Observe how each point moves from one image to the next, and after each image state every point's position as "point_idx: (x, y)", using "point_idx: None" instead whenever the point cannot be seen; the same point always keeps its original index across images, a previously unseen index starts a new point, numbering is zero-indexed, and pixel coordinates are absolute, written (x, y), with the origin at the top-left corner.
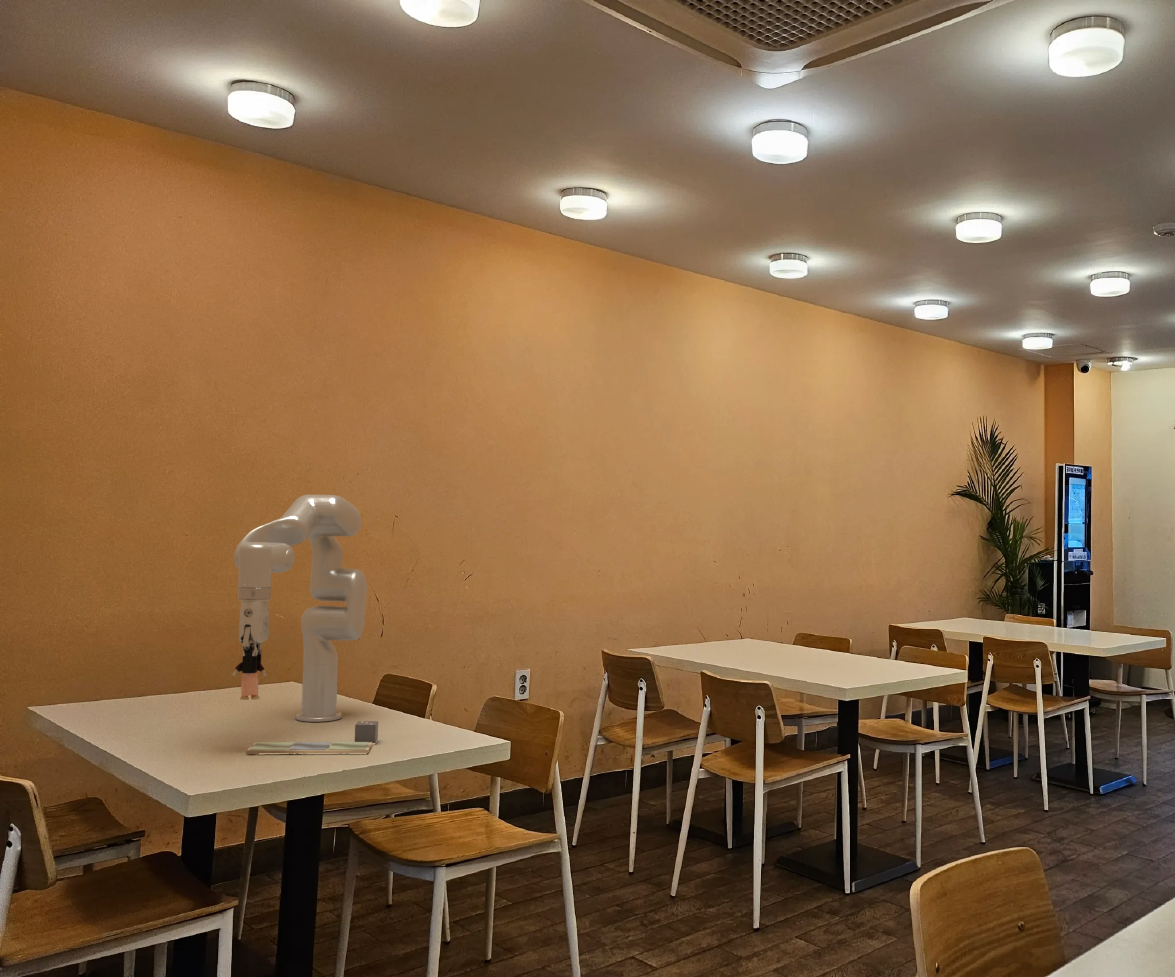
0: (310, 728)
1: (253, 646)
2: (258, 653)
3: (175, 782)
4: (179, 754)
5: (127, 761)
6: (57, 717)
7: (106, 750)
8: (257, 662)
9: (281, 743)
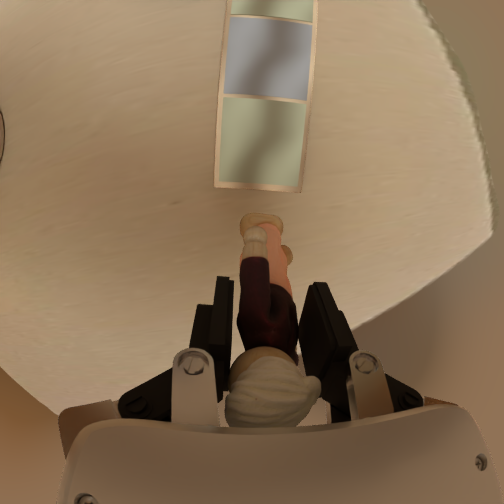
0: (40, 119)
1: (389, 410)
2: (204, 359)
3: (445, 264)
4: None
5: None
6: None
7: None
8: (269, 316)
9: (236, 123)
